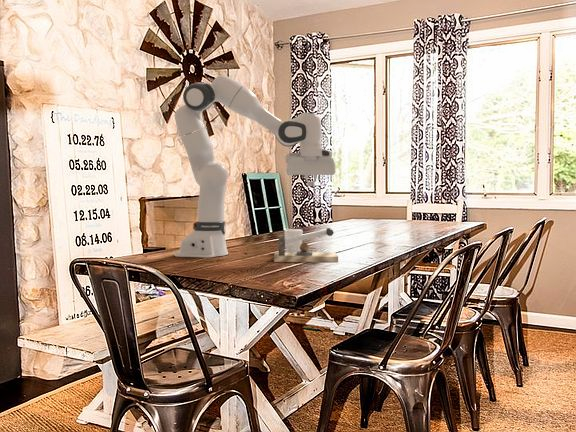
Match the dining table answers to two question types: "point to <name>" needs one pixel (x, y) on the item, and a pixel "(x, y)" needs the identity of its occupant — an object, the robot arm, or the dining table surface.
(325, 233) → the lever
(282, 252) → the nutcracker base
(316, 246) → the dining table surface
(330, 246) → the dining table surface
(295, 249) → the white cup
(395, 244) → the dining table surface
